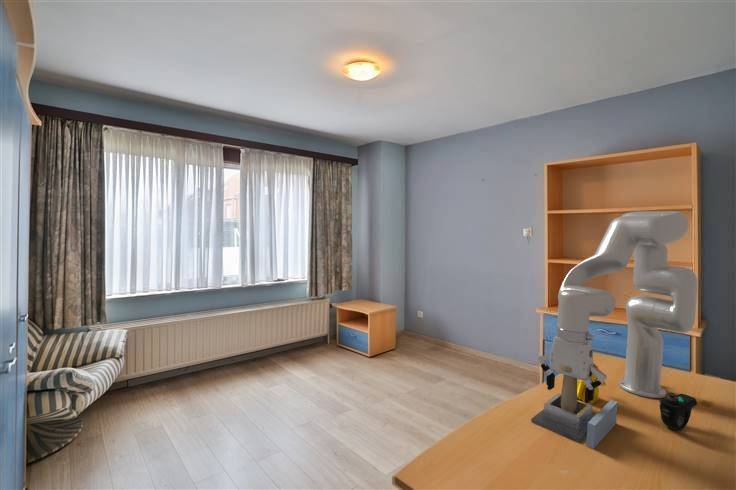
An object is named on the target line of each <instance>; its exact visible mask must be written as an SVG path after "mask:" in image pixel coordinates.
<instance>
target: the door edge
mask: <svg viewBox="0 0 736 490" xmlns="http://www.w3.org/2000/svg"><path fill="white" fill-rule="evenodd" d="M596 413H597V414H596V415H595V416H594V417H593V418H592V419H591V420H590V421H589V422H588V426H587V435H586V444H585V445H586V446H585V447H587V448H590V449H592V450H594V449H595V448H596V447H597V446H598V445H599V443H601V441H602V440H603V439H604V438H605V436H606V435H607V434H608V433H609V432H610V431H611V430H612V428H613V427H614V426H615V425H616V424H617V413H618V401H615V400H611V399H610V400H609V401H608V402H607V403H606V404H605V405H604V406H603V407H602V408H601V409H600V410H599V411H598V412H596Z"/></svg>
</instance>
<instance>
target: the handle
mask: <svg viewBox="0 0 736 490" xmlns="http://www.w3.org/2000/svg"><path fill="white" fill-rule="evenodd" d="M560 369H561V370H563V371H565V372H567V373H571V372H572V368H570V367H567V366H564V365H561V364H560ZM560 394H561V409H563V410H566V411H568V412H571V413H574V414H575V411H576V406H577V400H578V399H577V379H576V378H573V377H570V376H567V375H564V374H563V378H562V385H561V393H560Z"/></svg>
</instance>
